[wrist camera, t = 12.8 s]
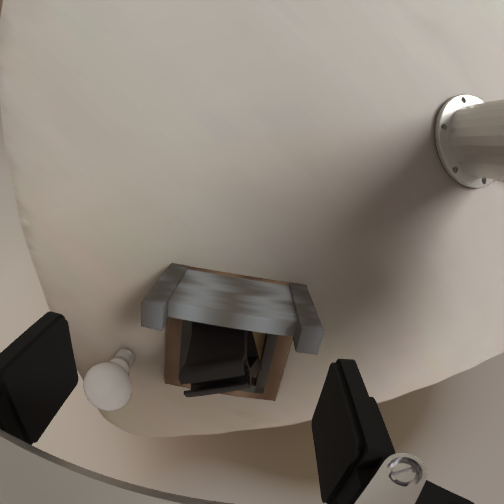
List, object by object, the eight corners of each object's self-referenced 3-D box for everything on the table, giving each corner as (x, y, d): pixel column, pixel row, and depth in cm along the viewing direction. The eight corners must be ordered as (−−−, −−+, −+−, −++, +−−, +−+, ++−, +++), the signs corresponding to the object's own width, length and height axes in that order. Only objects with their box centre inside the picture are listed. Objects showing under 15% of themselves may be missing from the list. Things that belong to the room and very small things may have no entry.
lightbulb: (101, 354, 42) (70, 400, 31) (117, 327, 41) (83, 372, 30) (136, 378, 43) (112, 428, 32) (155, 352, 42) (130, 404, 31)
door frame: (304, 282, 38) (324, 331, 27) (274, 396, 43) (279, 458, 32) (173, 260, 38) (141, 302, 26) (166, 378, 43) (144, 437, 31)
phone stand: (261, 368, 38) (257, 420, 26) (216, 375, 39) (196, 427, 27) (245, 300, 38) (233, 332, 26) (197, 310, 38) (166, 344, 26)
